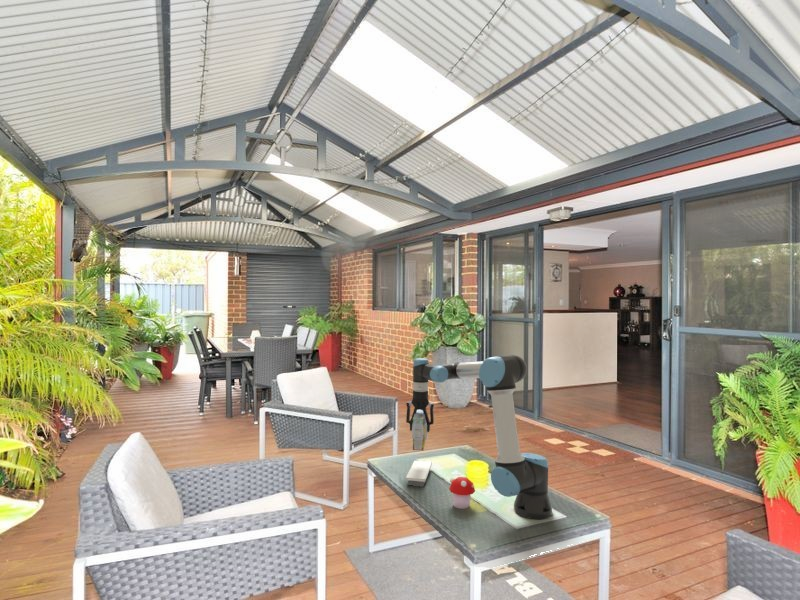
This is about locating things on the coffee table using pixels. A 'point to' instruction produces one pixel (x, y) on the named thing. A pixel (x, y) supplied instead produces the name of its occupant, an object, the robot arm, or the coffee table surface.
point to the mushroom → (461, 492)
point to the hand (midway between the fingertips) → (419, 437)
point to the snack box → (419, 430)
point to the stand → (418, 473)
